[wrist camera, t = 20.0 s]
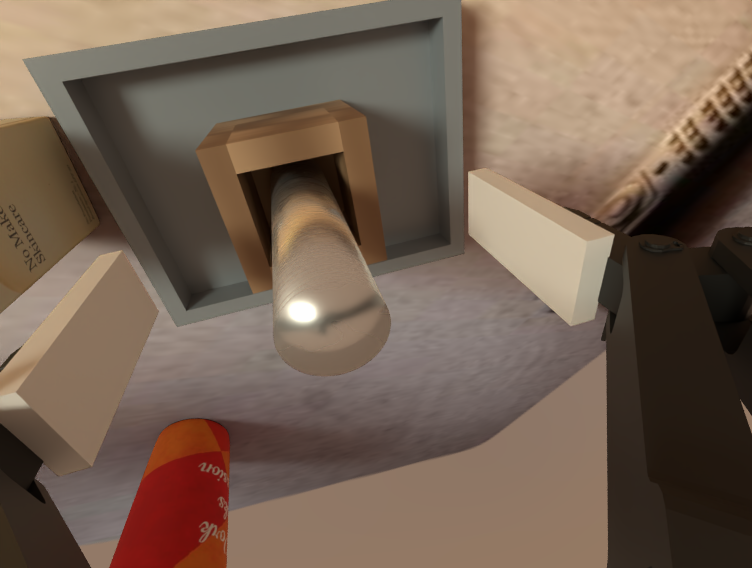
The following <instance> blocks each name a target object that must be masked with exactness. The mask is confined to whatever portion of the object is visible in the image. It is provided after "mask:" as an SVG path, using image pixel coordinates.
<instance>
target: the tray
mask: <svg viewBox="0 0 752 568" xmlns="http://www.w3.org/2000/svg"><path fill="white" fill-rule="evenodd" d="M22 60H23V61H24V63H25V65H26V67H27V68H28V70H29V72H30V73H31V75H32V77H33V79H34V80H35V82H36V84H37V86H38V87H39V89H40V91H41V92H42V94H43V96H44V98H45V99H46V101H47V103H48V105H49V106H50V108H51V110H52V112H53V113H54V115H55V117H56V118H57V120H58V122H59V124H60V125H61V127H62V129H63V131H64V132H65V134H66V136H67V137H68V139H69V141H70V143H71V144H72V146H73V148H74V150H75V151H76V153H77V155H78V157H79V158H80V160H81V162H82V163H83V165H84V167H85V169H86V170H87V172H88V174H89V176H90V177H91V179H92V181H93V182H94V184H95V186H96V188H97V189H98V191H99V193H100V195H101V196H102V198H103V200H104V201H105V203H106V205H107V207H108V208H109V210H110V212H111V214H112V215H113V217H114V219H115V221H116V222H117V224H118V226H119V227H120V229H121V231H122V233H123V234H124V236H125V238H126V240H127V241H128V243H129V245H130V246H131V248H132V250H133V252H134V253H135V255H136V257H137V259H138V260H139V262H140V264H141V266H142V267H143V269H144V271H145V272H146V274H147V276H148V278H149V279H150V281H151V283H152V285H153V286H154V288H155V290H156V291H157V293H158V295H159V297H160V298H161V300H162V302H163V304H164V305H165V307H166V309H167V310H168V312H169V314H170V316H171V317H172V319H173V321H174V323H175V324H176V326H177V327H179V326H183V325H187V324H191V323H195V322H199V321H203V320H207V319H211V318H215V317H218V316H222V315H226V314H230V313H234V312H238V311H242V310H246V309H250V308H254V307H257V306H261V305H265V304H269V303H273V289H270V290H266V291H262V292H259V293H255V294H253V292H252V290H251V287H250V285H249V283H248V280H247V278H246V275H245V273H244V270H243V268H242V265H241V263H240V260H239V258H238V255H237V253H236V250H235V248H234V245H233V243H232V241H231V238H230V236H229V233H228V231H227V228H226V226H225V223H224V221H223V218H222V216H221V213H220V211H219V208H218V206H217V203H216V201H215V198H214V196H213V194H212V191H211V189H210V186H209V184H208V181H207V179H206V176H205V174H204V171H203V169H202V166H201V164H200V161H199V159H198V156H197V154H196V152H195V150H196V149H197V148H198V146H199V145H200V144H201V142H202V141H203V140H204V139H205V137H206V136H207V135H208V133H209V132H210V131H211V130H212V128H213V127H214V126H215V124H216V123H221V122H226V121H231V120H237V119H242V118H247V117H252V116H257V115H262V114H268V113H273V112H278V111H283V110H288V109H293V108H299V107H304V106H309V105H314V104H319V103H324V102H329V101H335V100H341V101H343V102H344V103H346V104H348V105H349V106H351V107H352V108H354V109H356V110H357V111H359V112H360V113H362V114H363V115H365V116H366V119H367V126H368V132H369V139H370V146H371V153H372V159H373V166H374V173H375V180H376V187H377V193H378V200H379V207H380V214H381V220H382V227H383V234H384V241H385V248H386V254H387V260H385V261H381V262H377V263H373V264H369V265H367V266H368V268H369V270H370V272H371V274H372V276H373V277H375V276H379V275H382V274H386V273H390V272H394V271H398V270H402V269H406V268H410V267H414V266H418V265H422V264H425V263H429V262H433V261H437V260H441V259H445V258H449V257H453V256H457V255H461V254H464V183H463V102H462V20H461V0H388V1H382V2H376V3H370V4H363V5H357V6H351V7H345V8H339V9H332V10H326V11H320V12H314V13H308V14H301V15H295V16H289V17H283V18H277V19H270V20H264V21H258V22H252V23H246V24H239V25H233V26H227V27H221V28H215V29H208V30H202V31H196V32H190V33H183V34H177V35H171V36H165V37H159V38H152V39H146V40H140V41H134V42H128V43H121V44H115V45H109V46H103V47H97V48H90V49H84V50H78V51H72V52H66V53H59V54H53V55H47V56H41V57H35V58H28V59H22Z"/></svg>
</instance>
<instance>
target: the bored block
mask: <svg viewBox="0 0 752 568" xmlns="http://www.w3.org/2000/svg"><path fill="white" fill-rule="evenodd" d="M195 152H196V154H197V156H198V159H199V161H200V164H201V166H202V169H203V171H204V174H205V176H206V179H207V181H208V184H209V186H210V189H211V191H212V194H213V196H214V198H215V201H216V203H217V206H218V208H219V211H220V213H221V216H222V218H223V221H224V223H225V226H226V228H227V231H228V233H229V236H230V238H231V241H232V243H233V245H234V248H235V250H236V253H237V255H238V258H239V260H240V263H241V265H242V268H243V270H244V273H245V275H246V278H247V280H248V283H249V285H250V287H251V290H252V292H253V294H255V293H259V292H262V291H266V290H270V289H273V279H272V222H271V174H272V171H273V169H274V167H275V166H277V165H282V164H287V163H291V162H296V161H301V160H306V159H312V160H313V161H315V162H316V163H317V164H318V165H319V167H320V168H321V170H322V172H323V174H324V176H325V178H326V180H327V182H328V185H329V187H330V189H331V191H332V193H333V195H334V197H335V199H336V201H337V203H338V205H339V208H340V210H341V212H342V214H343V216H344V218H345V220H346V222H347V224H348V226H349V228H350V230H351V233H352V235H353V237H354V239H355V241H356V243H357V245H358V247H359V249H360V251H361V253H362V256H363V258H364V260H365V262H366V264H367V265H369V264H373V263H377V262H381V261H385V260H387V254H386V248H385V241H384V234H383V227H382V220H381V214H380V207H379V200H378V193H377V187H376V180H375V173H374V166H373V159H372V153H371V146H370V139H369V132H368V126H367V119H366V116H365V115H363V114H362V113H360V112H359V111H357V110H356V109H354V108H352V107H351V106H349V105H348V104H346V103H344V102H343V101H341V100H335V101H329V102H324V103H319V104H314V105H309V106H304V107H299V108H293V109H288V110H283V111H278V112H273V113H268V114H262V115H257V116H252V117H247V118H242V119H237V120H231V121H226V122H221V123H216V124H215V126H214V127H213V128H212V130H211V131H210V132H209V133H208V135H207V136H206V137H205V139H204V140H203V141H202V142H201V144H200V145H199V146H198V148H197V149H196V150H195Z"/></svg>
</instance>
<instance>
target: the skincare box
mask: <svg viewBox="0 0 752 568" xmlns="http://www.w3.org/2000/svg"><path fill="white" fill-rule="evenodd" d="M99 224H100V222H99V219H98V217H97V215H96V213H95V211H94V209H93V206H92V204H91V202H90V200H89V198H88V196H87V194H86V192H85V190H84V187H83V185H82V183H81V181H80V179H79V177H78V175H77V173H76V171H75V169H74V167H73V165H72V163H71V161H70V159H69V157H68V155H67V153H66V151H65V149H64V147H63V145H62V143H61V141H60V139H59V137H58V135H57V133H56V131H55V129H54V127H53V125H52V123H51V121H50V119H49V118H48V117H45V116H44V117H29V118H15V119H4V120H0V313H1V312H3V311H4V310H5V309H6V308H7V307H8V306H9V305H10V304H12V303H13V302H14V301H15V300H16V299H17V298H18V297H19V296H20V295H22V294H23V293H24V292H25V291H26V290H28V289H29V288H30V287H31V286H32V285H33V284H34V283H35V282H36V281H37V280H38V279H40V278H41V277H42V276H43V275H44V274H45V273H46V272H47V271H49V270H50V269H51V268H52V267H53V266H54V265H55V264H56V263H57V262H59V261H60V260H61V259H62V258H63V257H64V256H65V255H66V254H67V253H68V252H70V251H71V250H72V249H73V248H74V247H75V246H76V245H77V244H79V243H80V242H81V241H82V240H83V239H84V238H85V237H86V236H87V235H89V234H90V233H91V232H92V231H93V230H94V229H95V228H96V227H97V226H99Z"/></svg>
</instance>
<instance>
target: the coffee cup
mask: <svg viewBox="0 0 752 568" xmlns="http://www.w3.org/2000/svg"><path fill="white" fill-rule="evenodd" d="M229 463H230V440H229V434H228V432H227V430H226V429H225V428H224V427H223V426H222V425H220V424H219V423H217V422H214V421H211V420H207V419H186V420H182V421H178V422H176V423H173V424H171V425H169V426H168V427H166V428H165V429H164V430H163V431H162V432H161V434H160V435H159V437H158V439H157V442H156V444H155V446H154V449H153V451H152V454H151V456H150V459H149V462H148V464H147V467H146V470H145V472H144V475H143V478H142V480H141V483H140V486H139V488H138V491H137V494H136V496H135V499H134V502H133V504H132V507H131V510H130V513H129V515H128V518H127V521H126V523H125V526H124V529H123V532H122V534H121V537H120V540H119V543H118V546H117V548H116V551H115V554H114V556H113V559H112V562H111V564H110V567H109V568H226V564H227V532H228V531H227V530H228V501H229Z"/></svg>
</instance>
